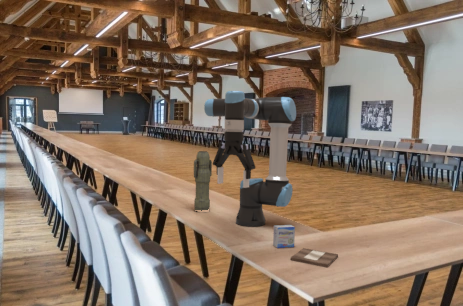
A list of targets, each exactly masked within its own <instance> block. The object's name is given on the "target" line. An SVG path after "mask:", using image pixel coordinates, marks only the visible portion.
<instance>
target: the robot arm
mask: <svg viewBox="0 0 463 306" xmlns="http://www.w3.org/2000/svg"><path fill="white" fill-rule="evenodd" d="M203 105H204V107H203V109H204V113H205V115H206V116H208V117H212V118H214V117H217V118H218V117H219V118H220V117H223V118H224V130H225V132H223V133H224V134H223V135H224V137H223V140H224V142H219V143H218V149H217V151H216V154H215V157H214V159H213V161H212V166H215V168H216V175H217V178H216V180H217V181H216V182H217V183H216V184H218V185H219V184H220V185H221V184H224V173H225V172H224V166H223V165H224V164H225V163H226V161H227V159H228V158H229V157H230V156H236V157H237V158H238V159H239V161H240V163H241V165H242V166H243V168H244V170H243V172H242V173H243V175H242V180H241V181H240V183H239V184H240V185H239V208H238V211H237V214H236V218H235V224H237V225H240V226H243V227H260V226H261V227H262V226H265V224H266V217H265V215H264V210H263V205H264V206H271V207H272V206H274V207H280V208H282V207H287V206H288V205H289V203H290V202H291V200H292V197H293V191H294V190H293V189H294V188H293V184H291V183H290V180H289V179H290V178H288V176H287V161H288V146H289V145H288V143H289V142H288V139H289V128H290V127H291V126H292V125H293V123H292V122H294V121H296V117H297V108H296V103H295V101H294V100H293V99H292V98H291V97H288V96H277V97H275V96H272V97H268V96H267V97H258V98H247V97H245V92H244V91H242V90H228V91H226V92H225V96H224V98H209V99H206V100H205V103H204V104H203ZM245 118H246V119H251V120H258V121H267V124H268V125H269V127H270V139H269V142H270V143H269V162H268V163H269V164H268V176H267V177H265V181H264V179H263V178H262V177H255V178H252V177H251V176H252V170H255V169H256V164H255V162H254V159H253V156H252V153H251V150H250V144H248V143H244V144H243V142H244V135H245V134H244V133H245V132H243V131H244V130H245Z"/></svg>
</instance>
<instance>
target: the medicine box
mask: <svg viewBox="0 0 463 306" xmlns="http://www.w3.org/2000/svg"><path fill="white" fill-rule="evenodd" d="M272 236H273V240H272V241H273V242H272V245H273V246H274V247H275V248H277V249H286V248H285V247H288V248H294V247H295V236H296V227H295V226H294V225H292V224H284V225H283V224H282V225H281V224H280V225H279V224H278V225H273V235H272Z"/></svg>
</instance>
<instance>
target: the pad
mask: <svg viewBox="0 0 463 306" xmlns="http://www.w3.org/2000/svg"><path fill="white" fill-rule="evenodd" d="M338 257H339V254H337V253H334V252H327V251H322V250H316V249H309V248H304V247H303V248H301V249H300V250H299V251H297V252H295V253H294V254H293V255H292V256H291V257H290V261H292V262H293V261H294V262H298V263H304V264H310V265H313V266H320V267H325V268H328V267H329V266H330V265H332V264H333V263H334V261H335V260H336V259H337V258H338Z"/></svg>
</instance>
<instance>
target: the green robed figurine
mask: <svg viewBox="0 0 463 306" xmlns="http://www.w3.org/2000/svg"><path fill="white" fill-rule="evenodd" d="M212 167H213V161H212V160H211V159H210V154H209V152H208V151H204V150H203V151H202V150H201V151H198V152H197V154H196V159H195V160H194V161H193V178H194V181H195V197H194V200H193V201H194V206H193V207H194V211H195V210H201V211H202V210H208V209H209V210H210V207H211V204H210V203H211V200H210V182H211V177H212V175H213V172H212V169H213V168H212Z"/></svg>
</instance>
